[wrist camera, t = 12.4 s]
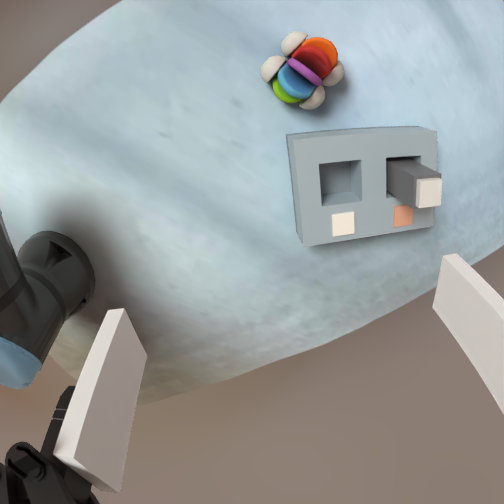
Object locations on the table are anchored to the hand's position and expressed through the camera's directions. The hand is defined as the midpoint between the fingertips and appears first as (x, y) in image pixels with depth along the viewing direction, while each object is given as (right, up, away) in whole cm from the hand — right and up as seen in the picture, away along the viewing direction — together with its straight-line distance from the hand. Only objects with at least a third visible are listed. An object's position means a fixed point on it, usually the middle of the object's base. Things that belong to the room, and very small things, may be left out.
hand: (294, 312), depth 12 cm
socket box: (+14, +13, +30) cm, 35 cm away
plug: (+18, +14, +29) cm, 37 cm away
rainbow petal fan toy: (+4, +25, +23) cm, 35 cm away
